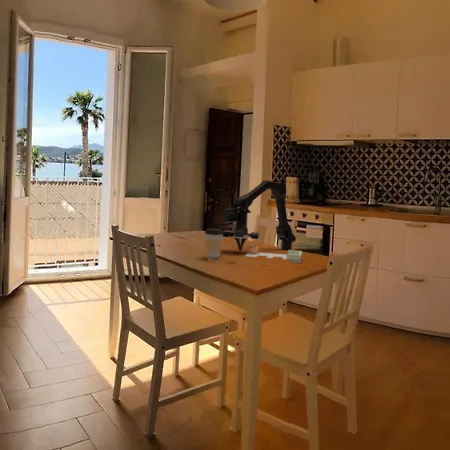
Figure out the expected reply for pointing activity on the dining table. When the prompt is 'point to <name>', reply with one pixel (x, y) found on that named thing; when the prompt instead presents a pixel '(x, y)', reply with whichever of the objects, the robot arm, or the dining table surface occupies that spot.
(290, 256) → the deck
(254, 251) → the pink short cylinder
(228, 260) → the dining table surface
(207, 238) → the coffee cup
